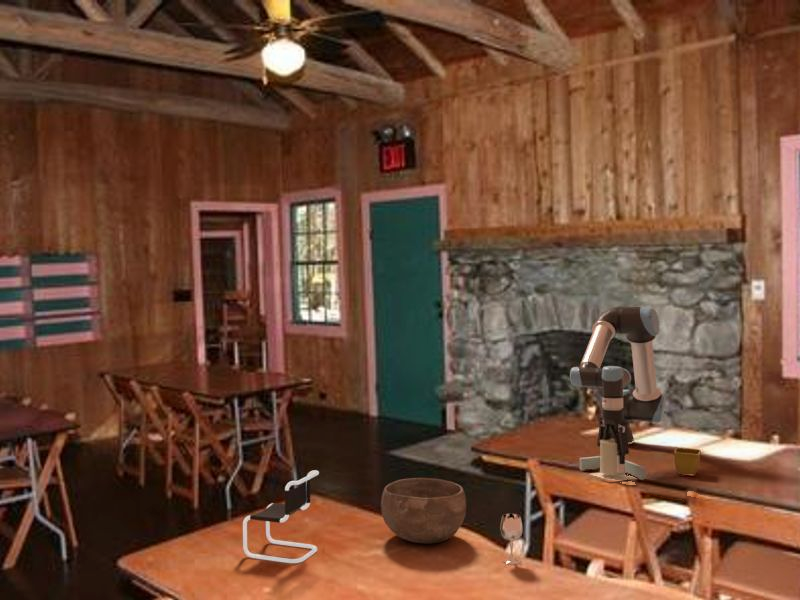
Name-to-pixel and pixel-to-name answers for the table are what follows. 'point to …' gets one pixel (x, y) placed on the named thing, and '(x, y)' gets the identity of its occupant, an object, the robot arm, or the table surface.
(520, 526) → the wineglass
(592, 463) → the fence
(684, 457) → the flower pot
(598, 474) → the tile
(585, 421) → the table surface
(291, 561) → the chair
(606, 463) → the can
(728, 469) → the table surface
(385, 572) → the table surface
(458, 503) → the bowl
